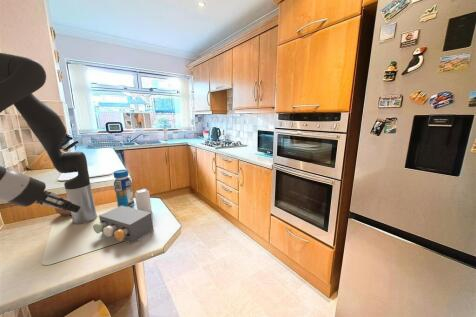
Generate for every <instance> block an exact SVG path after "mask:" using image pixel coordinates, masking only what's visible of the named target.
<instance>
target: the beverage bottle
mask: <svg viewBox="0 0 476 317" xmlns="http://www.w3.org/2000/svg"><path fill="white" fill-rule="evenodd" d="M112 173H113V174H112V175H113V177H114V179H115V180H114V181H113V186H114V187H113V189H114V192H115V198H116V204H117V207H119V206H126V207H130V208H131V206H134V204H135V199H134V194H133V184H132V181H131V179H130V177H129V171H128V169H118V170H115V171H113V172H112Z"/></svg>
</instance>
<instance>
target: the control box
mask: <svg viewBox="0 0 476 317" xmlns="http://www.w3.org/2000/svg"><path fill="white" fill-rule="evenodd" d="M98 218H99V222H100V223H103V222H105V221H106V222H107V225H108V226H113V225H115V224H116V225H117V227H118V230H119V229H121V230H123V229H125V228H128V230H129V233H128V234H127V235H125V238H124V239H123V240H122V241H125V242H128V243H131V244H134V243H136V242H137V241H139V240H140V239H142V238H143V237H145V236H146V235H148V234H150V233H151V232H152V231H154V223H153V217H152V212H146V211H142V210H138V209H137V208H132V207H131V206H130V207H126V206H119V207H118V206H117V207H115V208H114V209H110V210H108V211H106V212H104V213H102V214H100V215H99V216H98ZM101 233H103V234H104V232H103V231H102V232H101ZM111 237H113V238H115V236H114V234H113V235H112V236H111Z"/></svg>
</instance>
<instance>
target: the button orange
mask: <svg viewBox="0 0 476 317" xmlns="http://www.w3.org/2000/svg"><path fill="white" fill-rule="evenodd" d="M127 234H129V230H128V228H125V229H123V230H121V229H119V230H117V231H115V232H114V236H115V237H114V238H115V240H116V241H117V242H121V241H124V240H123V239H124V238H125V235H127Z"/></svg>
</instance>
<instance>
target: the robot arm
mask: <svg viewBox="0 0 476 317" xmlns="http://www.w3.org/2000/svg"><path fill="white" fill-rule="evenodd" d="M46 81H47V74H46V70H45V68H44V67H43V65H42V64H41V63H40V62H39V61H37V60H35V59H33V58H30V57H26V56H25V57H24V56H20V55H16V54H10V53H5V52H0V114H1V113H3V111H5V110H7V109H8V108H9V107H11V106H14V107H15V109H16V110H17V112H18V113H19V114H20V115H21V116H22V118H23V119H24V121H25V123H26V124H27V126H28V127H29V129H30V130H31V132H32V133H33V135H34V136H35V138H36V139H37V140H38V141H39V142H40V144H41V145H42V147H43V148H44V150H45V151H46V153H47V155H48V157H49V159H50V161H51V163H52V165H53V166H54V168H55V170H56V171H57V172H58V173H60V174H72V173H77V176H75V177H72V178H70V179H67V180H66V181H65V182H64V184H63V185H64V189H65V190H64V191H65V195H66V197H67V198H68V201H67V200H65V198H66V197H64V196H63V197H62V196H60V195H57V194H56V193H54V192H53V191H49V190H45V189H46V186H47V185H46V183H45V182H44V181H41V180H39V179H36V178H33V177H31V176H29V175H26V174H25V173H21V172H20V171H16V170H13V169H9V168H6V167H4V166H1V165H0V201H3V202H6V203H10V204H14V205H16V206H19V207H22V208H23V207H25V208H26V207H29V206H32V205H33V204H34V203H36V204H38V205H41V206H45V207H51V208H54V209H55V208H56V209H57V208H60V209H61V208H62V209H63V210H69V211H71V215H70V216H71V218H72V223H73V224H74V225H79V224H80V225H81V224H85V223H88V222H91V221H93V220H95V219H96V218H97V216H98V215H97V210H96V206H95V200H94V195H93V190H92V186H91V182H90V174H89V173H90V172H89V168H88V162H87V157H86V155H85V153H84V152H83V151H72V152H63V151H62V150H61V146H62V145H63V142H64V141H65V138H66V136H67V128H66V126H65V125H64V122H63V120H62V118H61V117H60V116H59V114H58V113H57V112H56V111H54V110H53V109H52V108H51V107H49V106H48V105H47V104H46V103H44V102H43V101H42V100H40V99H39V98H38V97H36V95H34V94H33V93H35V92H37V91H38V90H40V89H41V88H42V87H43V86H44V85H45V83H46Z"/></svg>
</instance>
